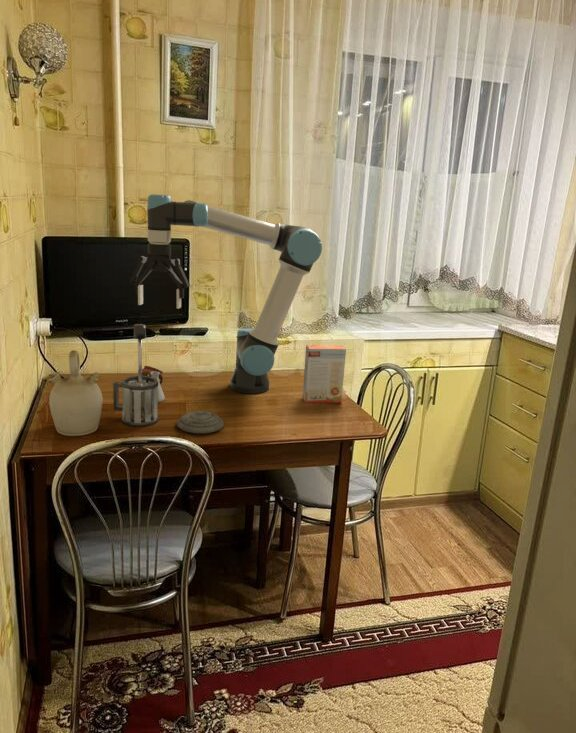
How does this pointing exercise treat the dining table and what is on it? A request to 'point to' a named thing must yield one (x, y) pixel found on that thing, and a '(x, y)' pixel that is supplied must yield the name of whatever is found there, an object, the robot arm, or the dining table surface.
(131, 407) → the press carafe
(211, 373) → the dining table surface
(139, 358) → the plunger
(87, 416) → the jug
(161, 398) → the flask
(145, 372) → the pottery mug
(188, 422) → the flying saucer
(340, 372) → the cracker box
